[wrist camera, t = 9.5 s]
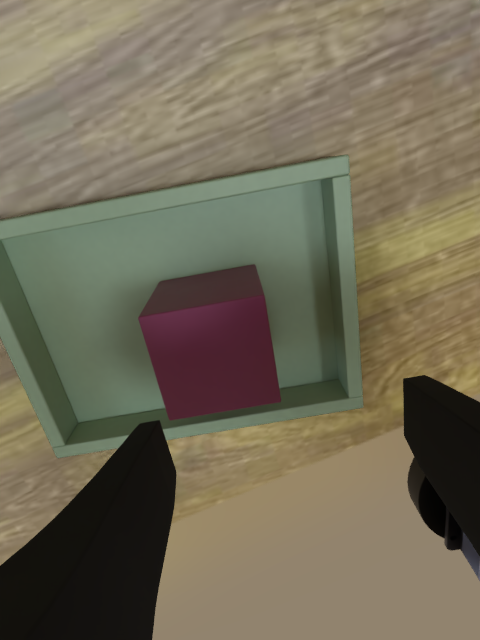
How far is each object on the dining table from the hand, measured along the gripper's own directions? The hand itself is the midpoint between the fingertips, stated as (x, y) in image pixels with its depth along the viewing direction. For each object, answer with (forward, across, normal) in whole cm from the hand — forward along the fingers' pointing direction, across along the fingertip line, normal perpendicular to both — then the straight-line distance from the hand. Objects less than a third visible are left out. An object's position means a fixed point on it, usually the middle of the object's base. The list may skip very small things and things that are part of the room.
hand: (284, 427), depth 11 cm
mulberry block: (+8, +2, -1) cm, 8 cm away
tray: (+8, +4, -1) cm, 9 cm away
